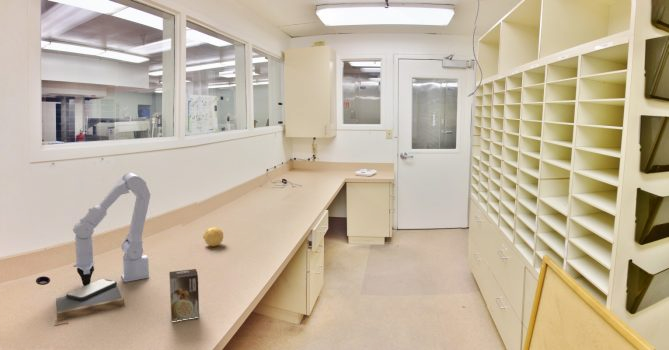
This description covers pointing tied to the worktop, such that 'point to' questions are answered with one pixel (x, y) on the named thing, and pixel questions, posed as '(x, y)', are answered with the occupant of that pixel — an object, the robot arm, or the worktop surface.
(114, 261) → the worktop surface
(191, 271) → the coffee box
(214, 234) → the stress ball
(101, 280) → the phone case
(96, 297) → the mat
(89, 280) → the robot arm
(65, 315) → the back rail
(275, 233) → the worktop surface
